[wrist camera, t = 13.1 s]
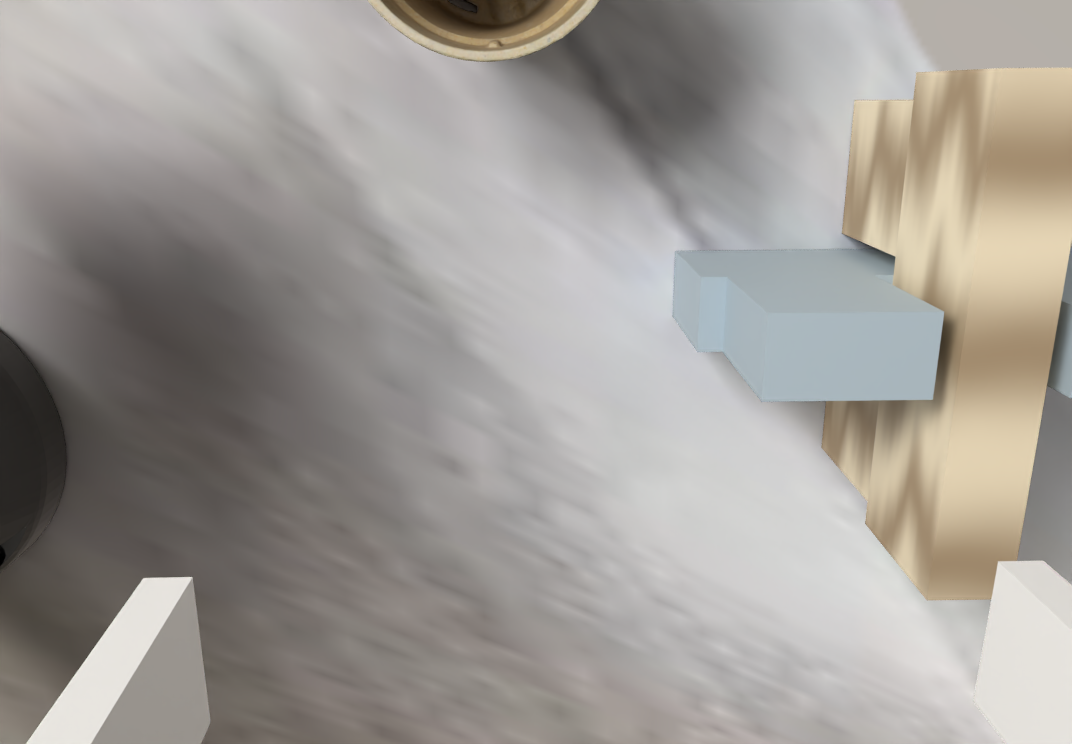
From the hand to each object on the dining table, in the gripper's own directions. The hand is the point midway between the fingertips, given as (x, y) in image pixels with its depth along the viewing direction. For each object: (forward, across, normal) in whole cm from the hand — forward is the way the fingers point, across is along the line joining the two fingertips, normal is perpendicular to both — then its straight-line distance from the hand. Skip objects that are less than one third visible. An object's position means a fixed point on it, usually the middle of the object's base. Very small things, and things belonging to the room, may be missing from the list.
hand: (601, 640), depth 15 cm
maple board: (+27, +15, 0) cm, 31 cm away
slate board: (+27, +15, 0) cm, 31 cm away
